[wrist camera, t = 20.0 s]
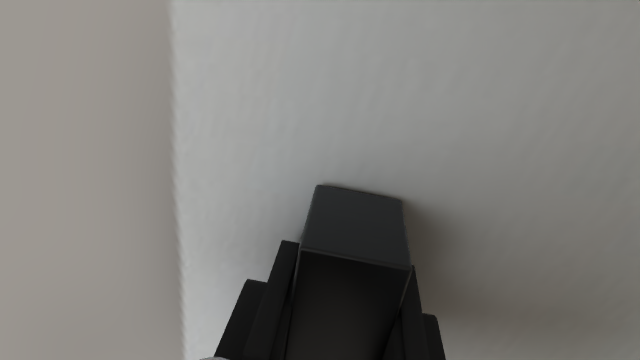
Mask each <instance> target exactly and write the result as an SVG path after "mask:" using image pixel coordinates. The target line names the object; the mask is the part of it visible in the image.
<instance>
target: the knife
mask: <svg viewBox="0 0 640 360" xmlns="http://www.w3.org/2000/svg"><path fill="white" fill-rule="evenodd" d="M411 273H412V264H411V257H410V251H409V245H408V239H407V233H406V227H405V221H404V214H403V208H402V202H401V201H400V200H398V199H392V198H387V197H382V196H376V195H371V194H365V193H360V192H354V191H349V190H343V189H338V188H333V187H327V186H322V185H317V186H316V187H315V191H314V194H313V198H312V202H311V205H310V209H309V212H308V216H307V220H306V223H305V227H304V231H303V234H302V238H301V242H300V245H299V250H298V256H297V263H296V270H295V276H294V283H293V290H292V296H291V303H290V306H291V307H292V310H291V317H290V323H289V329H288V336H287V342H286V349H285V355H284V360H382V358H383V355H384V352H385V349H386V346H387V343H388V340H389V337H390V334H391V331H392V327H394V325H395V322H396V319H397V316H398V313H399V310H400V307H401V304H402V300H403V297H404V294H405V291H406V288H407V285H408V282H409V279H410V276H411Z"/></svg>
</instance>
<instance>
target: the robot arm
mask: <svg viewBox="0 0 640 360" xmlns="http://www.w3.org/2000/svg"><path fill="white" fill-rule="evenodd" d="M299 245H300V243H296V242H291V241H285V240H282V242H281V245H280V248H279V250H278V253H277V256H276V259H275V262H274V265H273V268H272V271H271V273H270V276H269V279H268V282H267V283H266V282H261V281H256V280H250V279H247V280H246V282H245V284H244V286H243V289H242V291H241V293H240V296H239V298H238V300H237V303H236V305H235V307H234V310H233V312H232V314H231V317H230V319H229V321H228V324H227V326H226V329H225V331H224V333H223V336H222V338H221V340H220V343H219V345H218V347H217V350H216V352H215V354H214V357H209V358H204V359H200V360H284V355H285V349H286V342H287V336H288V329H289V323H290V317H291V310H292V307H291V306H290V303H291V296H292V290H293V283H294V276H295V270H296V263H297V256H298V250H299ZM382 360H446V359H445V354H444V349H443V344H442V340H441V335H440V330H439V325H438V321H437V318H436V317H435V315H430V314H425V313H422V309H421V303H420V297H419V291H418V285H417V279H416V273H415V267H414V265H412V273H411V276H410V279H409V282H408V285H407V288H406V291H405V294H404V297H403V300H402V304H401V307H400V310H399V313H398V316H397V319H396V322H395V325H394V327H392V331H391V334H390V337H389V340H388V343H387V346H386V349H385V352H384V355H383V358H382Z"/></svg>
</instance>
